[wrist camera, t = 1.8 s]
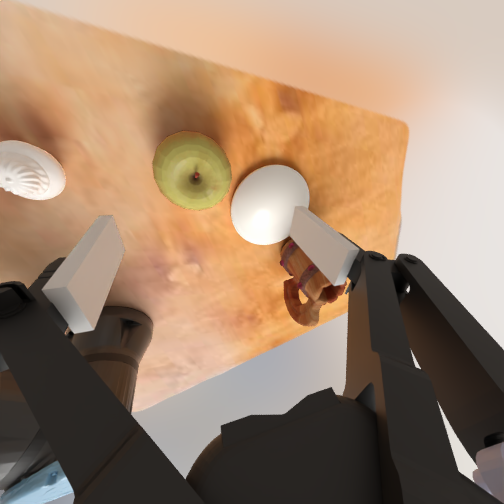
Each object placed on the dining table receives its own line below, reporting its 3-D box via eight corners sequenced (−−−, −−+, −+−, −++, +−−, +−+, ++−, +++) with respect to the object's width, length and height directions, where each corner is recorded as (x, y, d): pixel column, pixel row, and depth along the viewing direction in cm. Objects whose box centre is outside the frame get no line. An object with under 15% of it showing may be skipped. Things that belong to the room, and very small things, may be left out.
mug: (288, 225, 40) (332, 272, 29) (317, 234, 44) (367, 278, 32) (260, 279, 47) (287, 335, 35) (287, 282, 51) (320, 334, 39)
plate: (230, 245, 39) (231, 248, 38) (229, 163, 30) (231, 165, 29) (297, 237, 43) (300, 240, 42) (314, 163, 34) (318, 165, 33)
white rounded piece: (81, 193, 27) (57, 213, 22) (21, 186, 25) (-23, 208, 19) (70, 143, 24) (38, 152, 18) (0, 130, 22) (-60, 137, 16)
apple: (214, 119, 27) (224, 122, 21) (232, 188, 33) (245, 206, 27) (142, 139, 26) (130, 148, 20) (175, 206, 32) (174, 229, 26)
